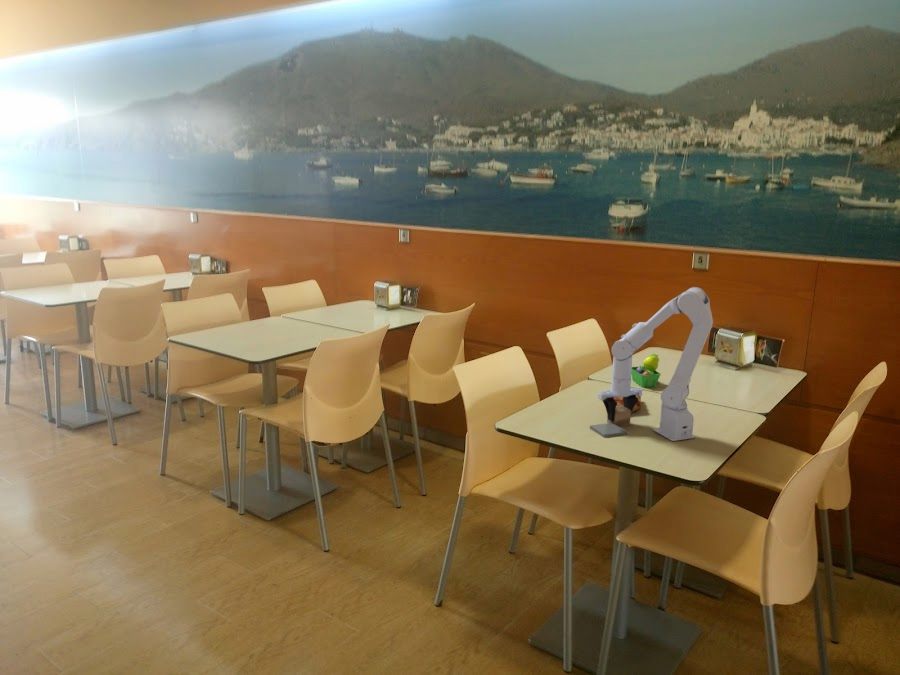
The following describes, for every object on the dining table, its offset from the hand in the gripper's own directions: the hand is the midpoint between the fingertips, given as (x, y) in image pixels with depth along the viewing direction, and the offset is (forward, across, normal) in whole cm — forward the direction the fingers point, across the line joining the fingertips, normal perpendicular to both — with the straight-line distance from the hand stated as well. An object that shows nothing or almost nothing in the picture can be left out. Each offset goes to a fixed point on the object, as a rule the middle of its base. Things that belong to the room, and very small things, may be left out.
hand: (618, 419), depth 213 cm
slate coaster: (+1, +6, +4) cm, 8 cm away
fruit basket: (+2, -34, -34) cm, 47 cm away
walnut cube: (+1, 0, 0) cm, 1 cm away
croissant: (+2, -10, -12) cm, 16 cm away
